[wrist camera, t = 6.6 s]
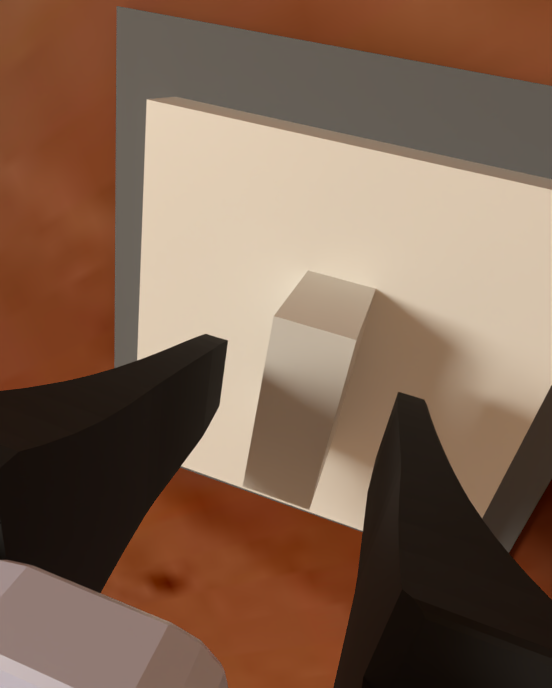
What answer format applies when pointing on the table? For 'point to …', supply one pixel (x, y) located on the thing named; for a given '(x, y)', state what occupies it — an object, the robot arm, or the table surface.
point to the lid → (343, 298)
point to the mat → (335, 115)
